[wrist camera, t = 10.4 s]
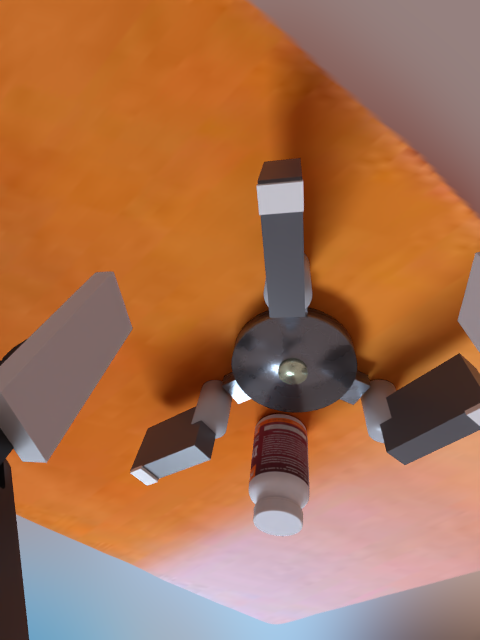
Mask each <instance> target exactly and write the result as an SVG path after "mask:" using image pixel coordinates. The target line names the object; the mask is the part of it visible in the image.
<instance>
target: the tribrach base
mask: <svg viewBox="0 0 480 640" xmlns="http://www.w3.org/2000/svg"><path fill="white" fill-rule="evenodd" d="M222 387H223V388H224V389H225V390H226V391H227V392H228V393H229V394H230V395H231V396H232V397H233V398H234V399H235V400H236V401H237V402H238V403H242V402H244V401H246V400H249V399H252V400H254V401H256V402H257V403H259V404H261V405H263V406H265V407H268V408H271V409H274V410H279V411H284V412H308V411H313V410H317V409H320V408H324V407H326V406H328V405H330V404H332V403H334V402H336V401H337V400H338V399H341V400H343V401H346V402H348V403H351V404H353V405H354V404H355V403H356V402H357V401H358V399H359V398H360V397H361V396H362V395H363V394H364V393H365V392H366V391H367V390H368V389H369V388H370V387H371V385H370V381H369V377H368V375H366V374H364V373H362V372H359V371H357V360H356V355H355V351H354V346H353V342H352V340H351V337H350V335H349V334H348V332H347V330H346V329H345V328H344V327H343V325H341V324H340V323H339V322H338V321H337V320H336V319H334V318H333V317H331V316H330V315H328V314H326V313H324V312H321V311H319V310H316V309H312V308H308V307H307V308H306V309H305V317H281V318H270V316H269V310H268V311H265V312H263V313H261V314H259V315H257V316H256V317H254V318H253V319H251V320H250V321H249V322H248V323H247V324H246V325H245V326H244V327H243V328H242V330H241V331H240V333H239V335H238V337H237V339H236V343H235V347H234V352H233V356H232V372H231V373H229V374H227V375H225V376H224V379H223V383H222Z"/></svg>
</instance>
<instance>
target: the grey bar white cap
mask: <svg viewBox="0 0 480 640" xmlns="http://www.w3.org/2000/svg"><path fill="white" fill-rule="evenodd" d="M257 195H258V206H259V215H261V224H262V236H263V247H264V259H265V270H266V281H265V288H264V300H265V302H266V304H267V306H268V307H269V316H270V318H281V317H305V309H306V308H307V307H308V306H309V304H310V302H311V300H312V285H311V275H310V264H309V260H308V257H307V256H306V254H305V253H304V238H303V211H304V191H303V180H302V170H301V160H300V158H296V159H286V160H277V161H268V162H264V164H263V167H262V170H261V173H260V176H259V178H258V184H257Z"/></svg>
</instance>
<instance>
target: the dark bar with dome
mask: <svg viewBox="0 0 480 640" xmlns="http://www.w3.org/2000/svg"><path fill="white" fill-rule="evenodd" d="M370 385H371V387H370V388H369V389H368V390H367V391H366V392H365V393H364V394H363V395H362V396H361V401H362V406H363V411H364V415H365V420H366V425H367V429H368V434H369V436H370V437H371V438H372V439H373V440H375V441H377V442H381V443H385V447H386V451H387V453H389V454H390V455H391V456H393V457H394V458H396V459H397V460H398V461H400V462H401V463H403V464H404V465H406V464H408V463H410V462H413V461H415V460H417V459H419V458H421V457H423V456H425V455H427V454H430V453H432V452H434V451H436V450H438V449H440V448H442V447H444V446H447V445H449V444H451V443H453V442H455V441H457V440H459V439H461V438H464V437H466V436H468V435H470V434H472V433H474V432H476V431H478V430H480V374H479V372H478V371H477V369H476V368H475V367H474V366H473V365H472V364H471V363H470V362H469V361H467V360H466V359H465V358H464V357H463V356H462V355H461V354H460V353H459V354H457V355H456V356H454V357H452V358H451V359H449V360H447V361H446V362H444V363H442V364H441V365H439V366H437V367H436V368H434V369H432V370H431V371H429V372H427V373H426V374H424V375H422V376H421V377H419V378H417V379H416V380H414V381H412V382H411V383H409V384H407V385H406V386H404V387H402V388H401V389H399V390H397V391H396V388H395V386H394V385H393V384H392V383H391V382H389V381H386V380H372V381H370Z"/></svg>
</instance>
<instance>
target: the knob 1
mask: <svg viewBox="0 0 480 640" xmlns="http://www.w3.org/2000/svg"><path fill="white" fill-rule="evenodd" d="M222 383H223V381H219V380H211V381H208V382H206V383H205V384H204V385H203V386H202V389H201V392H200V396H199V399H198V403H197V406H196V407H194V408H191V409H189V410H187V411H185V412H183V413H180V414H178V415H176V416H174V417H172V418H170V419H167V420H165V421H163V422H161V423H159V424H157V425H154V426H152V427H150V428H148V430H147V432H146V434H145V437H144V439H143V442H142V444H141V446H140V449H139V451H138V454H137V456H136V458H135V461H134V463H133V466H132V468H131V470H130V471H131V472H130V473H131V474H132V475H134V476H135V477H136V478H138V479H139V480H140V481H141V482H143V483H144V484H145V485H150V484H153V483H156V482H158V479H159V478H162V477H165V476H167V475H170V474H173V473H175V472H178V471H181V470H184V469H186V468H189V467H192V466H194V465H197V464H200V463H203V462H205V461H208V460H210V459H211V455H212V450H213V446H214V441H215V438H219V437H221V436H223V435H224V434H225V432H226V428H227V423H228V418H229V412H230V407H231V402H232V396H231V395H230V394H229V393H228V392H227V391H226V390H225V389H224V388H223V387H222Z"/></svg>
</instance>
